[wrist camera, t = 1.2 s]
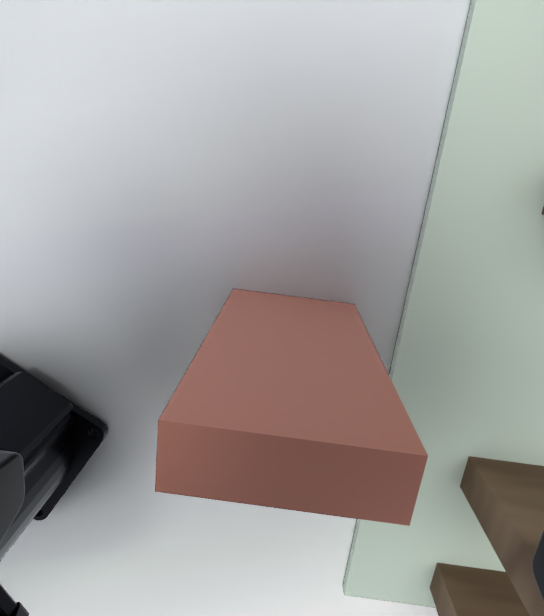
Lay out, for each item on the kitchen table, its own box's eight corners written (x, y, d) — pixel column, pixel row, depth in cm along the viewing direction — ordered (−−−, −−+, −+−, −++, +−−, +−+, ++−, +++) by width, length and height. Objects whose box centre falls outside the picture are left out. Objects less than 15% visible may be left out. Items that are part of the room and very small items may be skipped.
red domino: (347, 340, 18) (409, 526, 8) (229, 325, 18) (155, 491, 8) (354, 304, 17) (428, 456, 8) (233, 288, 17) (158, 419, 8)
